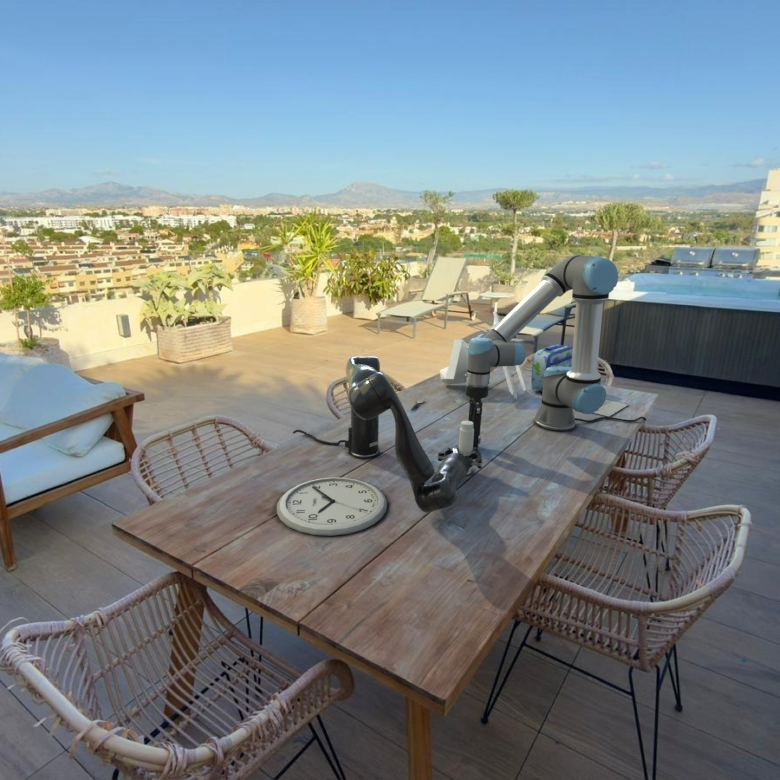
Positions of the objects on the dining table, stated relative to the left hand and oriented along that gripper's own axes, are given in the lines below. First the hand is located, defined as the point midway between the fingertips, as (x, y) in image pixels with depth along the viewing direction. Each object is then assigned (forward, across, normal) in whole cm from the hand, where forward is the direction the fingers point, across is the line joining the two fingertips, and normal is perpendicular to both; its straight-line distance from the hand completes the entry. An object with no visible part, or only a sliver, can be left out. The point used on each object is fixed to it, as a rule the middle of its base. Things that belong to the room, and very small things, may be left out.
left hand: (467, 448), depth 164 cm
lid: (+16, +2, +2) cm, 16 cm away
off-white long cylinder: (-3, 0, +7) cm, 7 cm away
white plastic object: (+81, +14, +7) cm, 82 cm away
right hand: (+16, +2, +7) cm, 17 cm away
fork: (+51, +34, +7) cm, 62 cm away
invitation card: (+83, -39, +7) cm, 92 cm away
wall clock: (-38, +28, +7) cm, 47 cm away
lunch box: (+101, -16, +7) cm, 102 cm away
